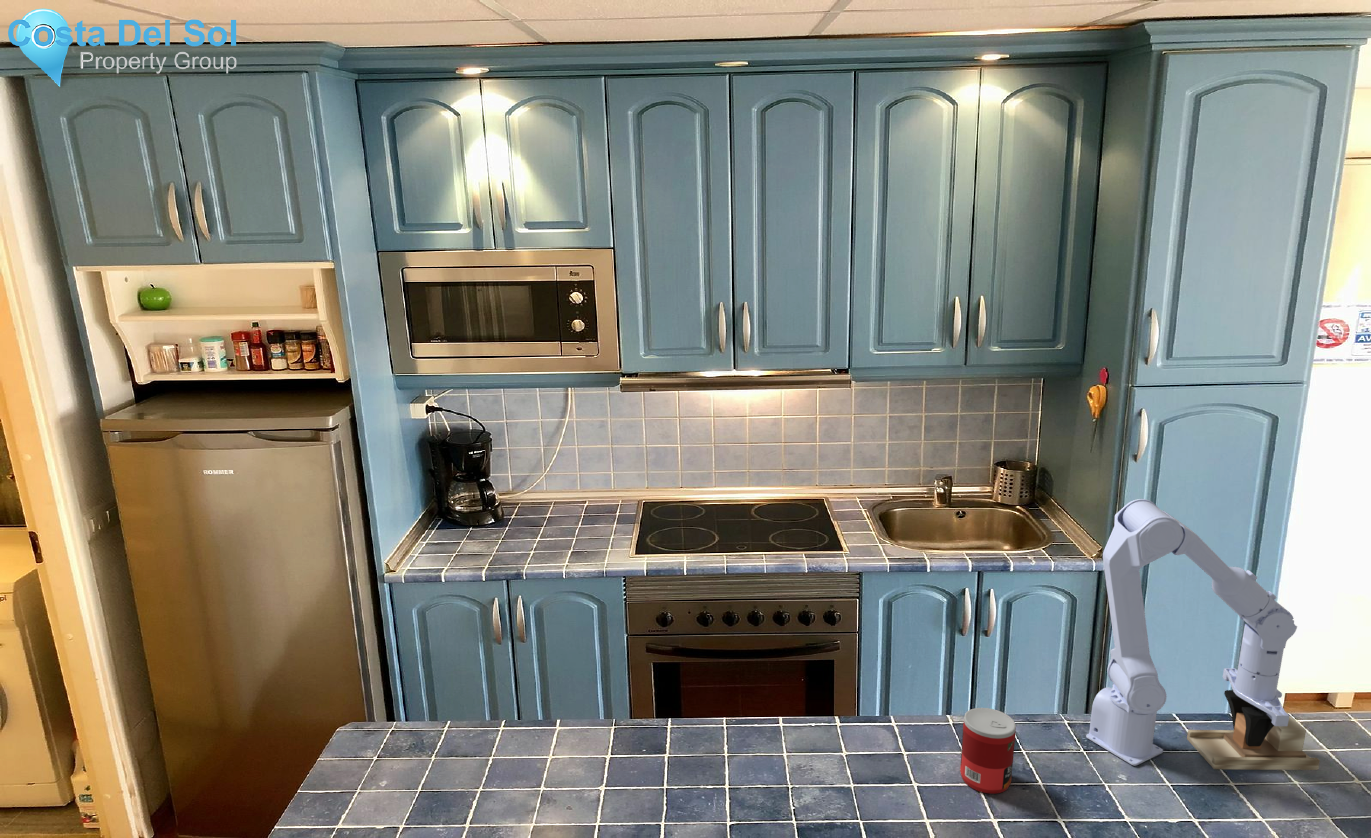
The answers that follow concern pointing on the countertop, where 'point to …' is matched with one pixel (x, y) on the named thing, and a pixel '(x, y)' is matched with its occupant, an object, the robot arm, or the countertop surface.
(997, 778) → the canned food
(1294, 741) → the cube
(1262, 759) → the rail bed
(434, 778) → the countertop surface
